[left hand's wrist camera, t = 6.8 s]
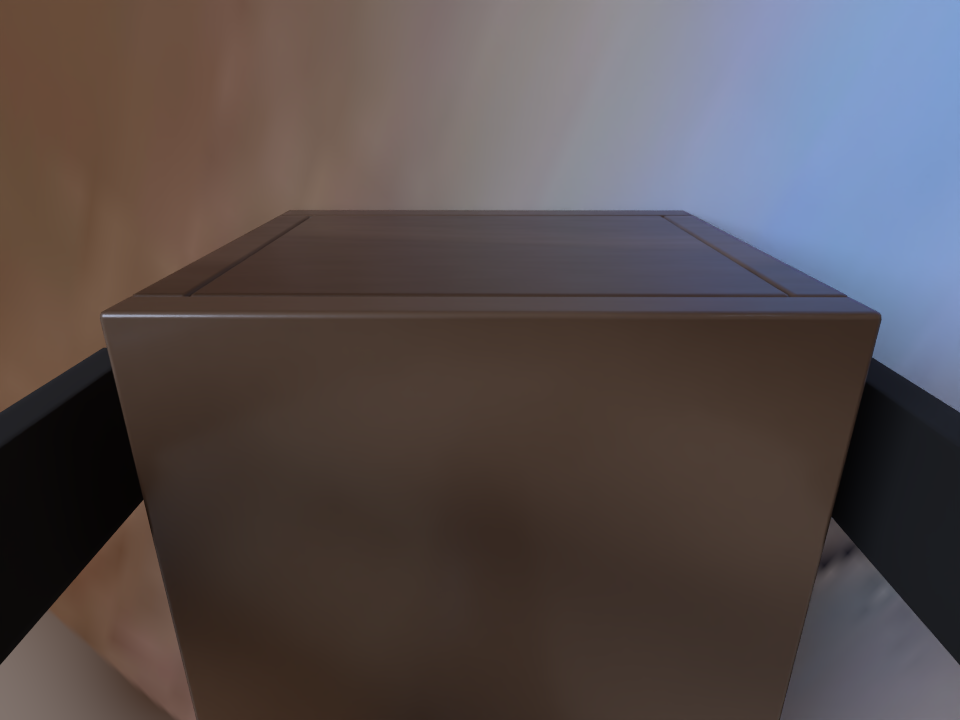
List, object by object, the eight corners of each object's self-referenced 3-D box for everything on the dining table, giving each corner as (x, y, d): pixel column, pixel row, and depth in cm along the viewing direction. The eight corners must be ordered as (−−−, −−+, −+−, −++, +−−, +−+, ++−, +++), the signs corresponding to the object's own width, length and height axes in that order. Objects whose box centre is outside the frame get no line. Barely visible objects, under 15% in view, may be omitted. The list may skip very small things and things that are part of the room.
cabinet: (618, 759, 24) (687, 1089, 16) (349, 758, 24) (282, 1086, 16) (685, 210, 16) (886, 313, 8) (287, 209, 16) (94, 312, 8)
